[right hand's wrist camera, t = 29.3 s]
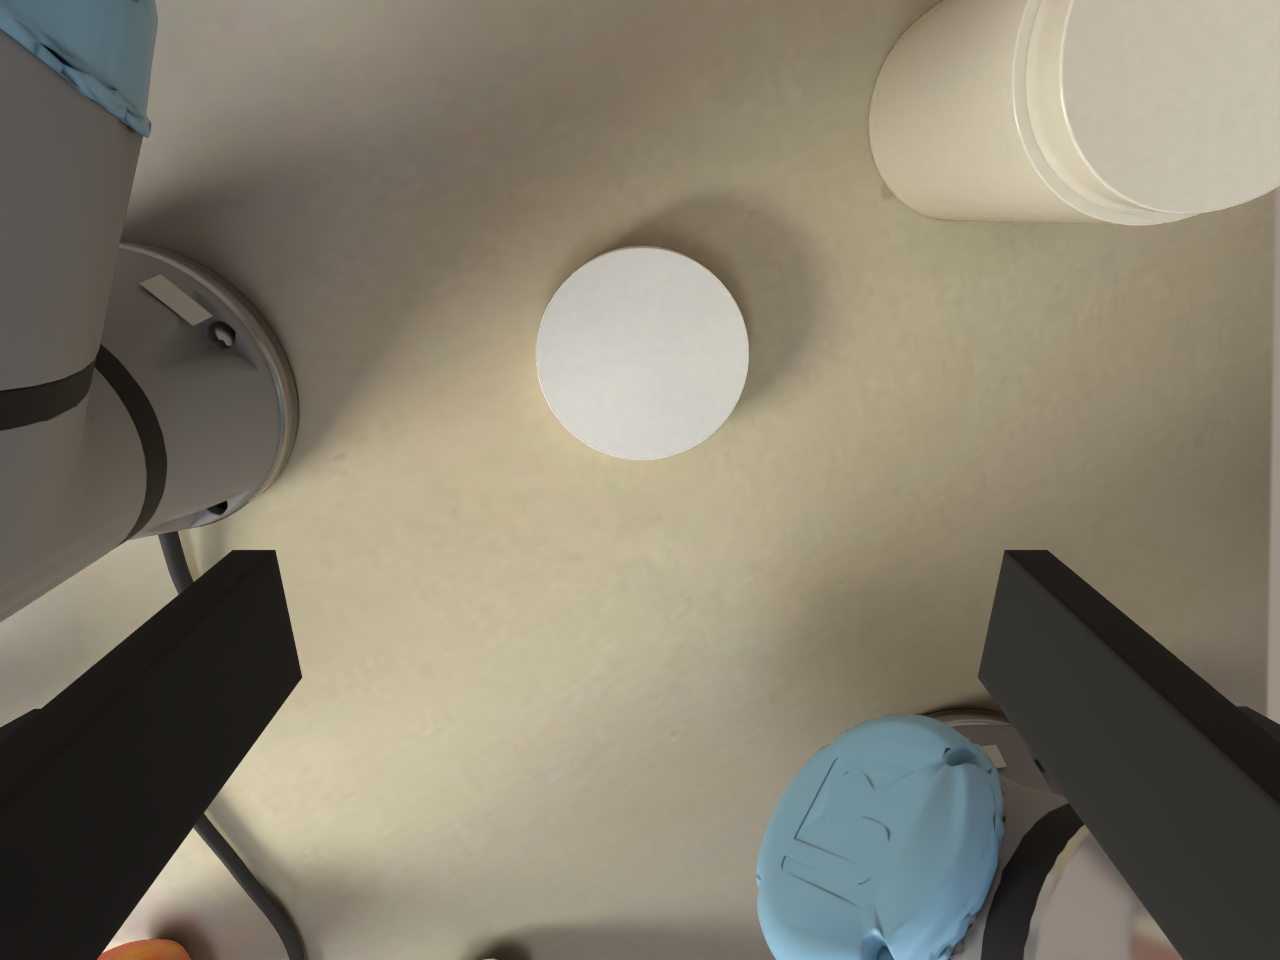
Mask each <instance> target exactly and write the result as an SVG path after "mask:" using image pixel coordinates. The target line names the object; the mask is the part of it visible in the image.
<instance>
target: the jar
mask: <svg viewBox="0 0 1280 960" xmlns="http://www.w3.org/2000/svg"><path fill="white" fill-rule="evenodd" d="M869 137H870V144H871V150H872V153H873V157H874V160H875V164H876V166H877V168H878V170H879V173H880V175H881V177H882V178H883V180H884V182H885V183H886V185H887V186H888V188H889V189H890V190H891V191H892V192H893V194H894V195H895V196H896V197H897V198H898V199H899V200H901V201H902V202H903V203H904V204H905V205H907V206H908V207H910V208H911V209H913V210H915V211H916V212H919V213H921V214H923V215H925V216H928V217H932V218H936V219H941V220H949V221H979V222H1017V223H1054V224H1092V225H1130V226H1134V225H1156V224H1163V223H1169V222H1174V221H1178V220H1181V219H1185V218H1188V217H1192V216H1195V215H1197V214H1200V213H1207V212H1213V211H1220V210H1223V209H1227V208H1230V207H1234V206H1237V205H1241V204H1243V203H1245V202H1248V201H1250V200H1253V199H1255V198H1258V197H1260V196H1262V195H1264V194H1266V193H1268V192H1270V191H1272V190H1273V189H1275V188H1277V187H1279V186H1280V0H943V1H941V2H940V3H938V4H937V5H936V6H934V7H933V8H931V9H930V10H928V11H927V12H926V13H924V14H923V15H922V16H921V17H920V18H919V19H917V20H916V21H915V22H914V23H913V24H912V25H911V26H910V27H909V28H908V29H907V30H906V31H905V32H904V33H903V35H902V36H901V37H900V39H899V40H898V41H897V43H896V44H895V45H894V46H893V48H892V50H891V51H890V53H889V55H888V56H887V58H886V60H885V62H884V64H883V66H882V68H881V71H880V73H879V75H878V78H877V81H876V84H875V87H874V90H873V95H872V100H871V104H870V114H869Z"/></svg>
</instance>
